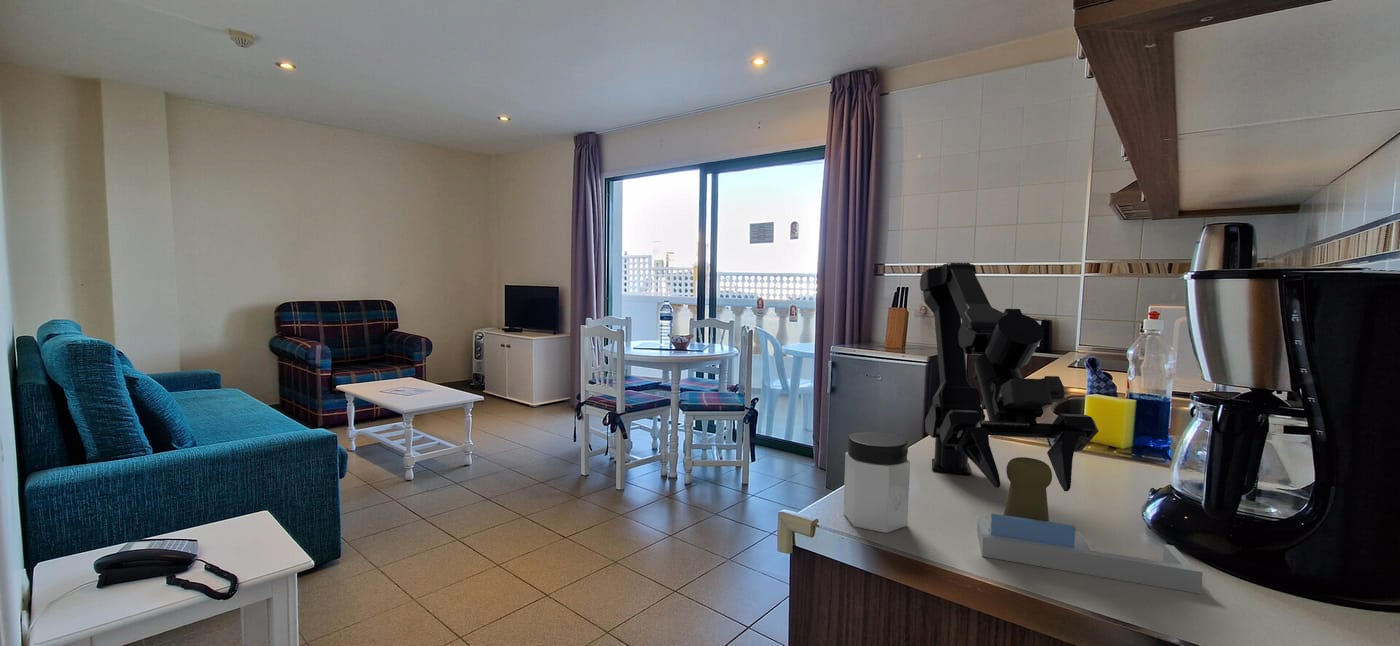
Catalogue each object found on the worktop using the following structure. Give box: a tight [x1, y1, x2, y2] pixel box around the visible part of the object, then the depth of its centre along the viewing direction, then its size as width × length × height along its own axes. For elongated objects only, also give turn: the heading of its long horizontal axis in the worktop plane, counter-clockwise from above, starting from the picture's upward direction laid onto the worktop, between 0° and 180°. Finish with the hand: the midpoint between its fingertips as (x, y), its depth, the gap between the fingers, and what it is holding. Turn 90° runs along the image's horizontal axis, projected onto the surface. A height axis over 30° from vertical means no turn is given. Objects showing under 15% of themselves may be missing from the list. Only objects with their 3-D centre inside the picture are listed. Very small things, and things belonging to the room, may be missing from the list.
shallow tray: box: [976, 513, 1204, 595], centre depth 72 cm, size 9×22×5 cm, turn 68°
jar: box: [843, 431, 911, 534], centre depth 82 cm, size 9×8×12 cm
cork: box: [1002, 456, 1053, 522], centre depth 75 cm, size 6×6×11 cm
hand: (1032, 488), depth 74 cm, fingers open, 8 cm apart
